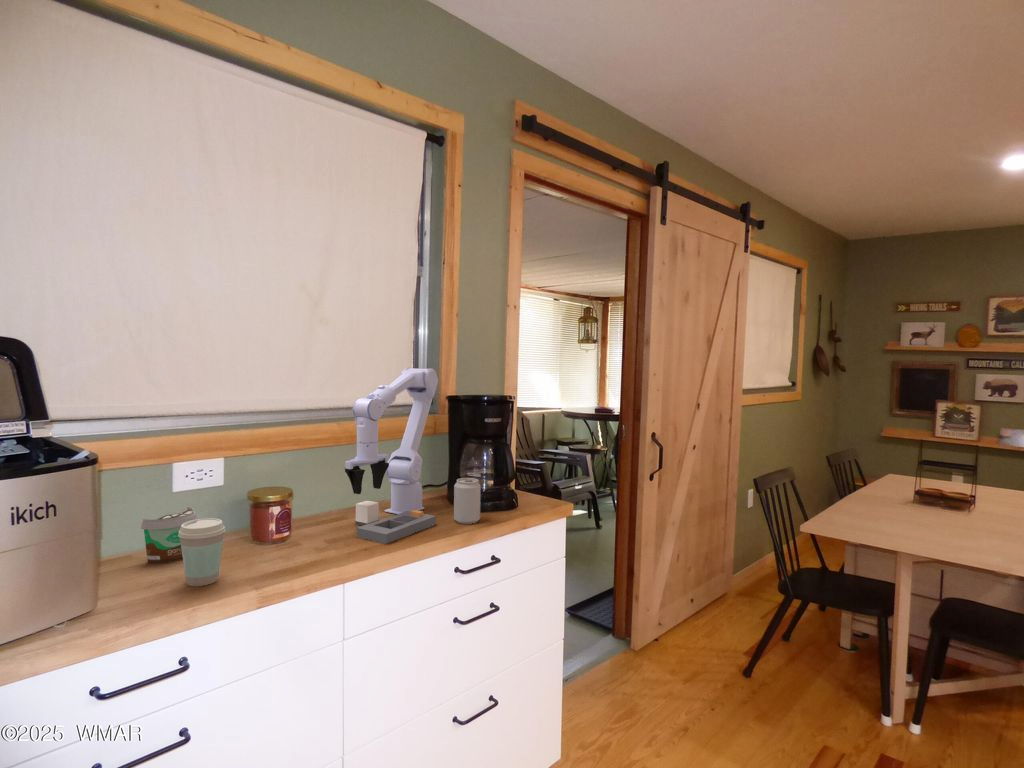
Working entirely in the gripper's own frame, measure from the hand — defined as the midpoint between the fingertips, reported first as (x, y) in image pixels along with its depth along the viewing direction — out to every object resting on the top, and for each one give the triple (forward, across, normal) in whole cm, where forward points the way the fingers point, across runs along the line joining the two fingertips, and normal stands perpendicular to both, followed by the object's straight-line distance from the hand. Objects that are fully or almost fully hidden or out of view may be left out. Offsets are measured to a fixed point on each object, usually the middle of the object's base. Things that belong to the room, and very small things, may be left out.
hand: (367, 490), depth 161 cm
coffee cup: (+9, +48, +1) cm, 49 cm away
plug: (+10, 0, 0) cm, 10 cm away
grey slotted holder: (+9, 0, +11) cm, 14 cm away
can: (+10, -18, +21) cm, 29 cm away
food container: (+10, +43, -17) cm, 47 cm away
